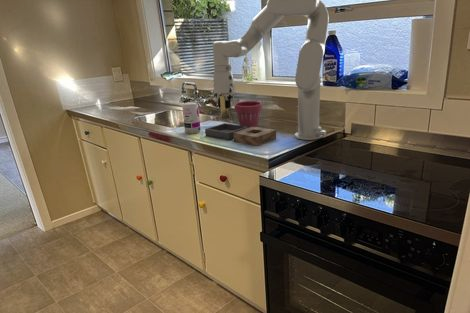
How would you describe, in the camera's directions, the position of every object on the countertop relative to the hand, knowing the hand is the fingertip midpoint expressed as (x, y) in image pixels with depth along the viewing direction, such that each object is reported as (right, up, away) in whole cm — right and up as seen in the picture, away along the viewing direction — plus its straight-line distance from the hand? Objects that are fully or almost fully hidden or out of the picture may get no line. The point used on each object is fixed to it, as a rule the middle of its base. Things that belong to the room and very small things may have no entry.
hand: (224, 107), depth 168 cm
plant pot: (+13, -9, +16) cm, 22 cm away
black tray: (+1, -13, +4) cm, 14 cm away
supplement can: (-17, -11, +14) cm, 25 cm away
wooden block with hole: (+14, -16, -8) cm, 23 cm away
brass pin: (0, -5, +2) cm, 5 cm away
